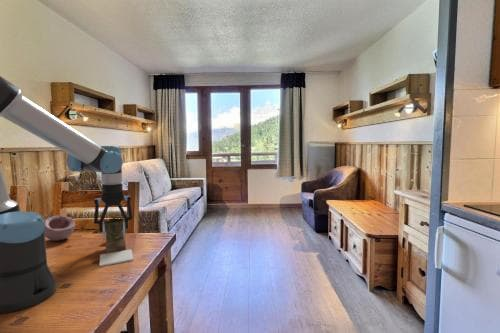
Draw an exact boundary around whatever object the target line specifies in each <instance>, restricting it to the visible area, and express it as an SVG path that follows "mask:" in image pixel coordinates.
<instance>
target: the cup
mask: <svg viewBox="0 0 500 333" xmlns="http://www.w3.org/2000/svg"><path fill="white" fill-rule="evenodd" d="M123 222H124V218H123V217H120V218H119V217H117V218H116V217H113V218H111V217H110V218H109V220H107V219H104V221H103V223H104V224H105V234H106V233H107V234H108V235H110V239H117V238H119V234H120V233H121V232H122V231H123Z"/></svg>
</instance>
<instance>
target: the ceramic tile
mask: <svg viewBox="0 0 500 333" xmlns="http://www.w3.org/2000/svg"><path fill="white" fill-rule="evenodd" d="M132 250H133V249H126V250H122V251H117V252H111V253H102V254H100V255H99V267H105V266H111V265H116V264H121V263H126V262H132V261H134V260H135V259H134V254H133V251H132Z"/></svg>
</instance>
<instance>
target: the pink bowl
mask: <svg viewBox="0 0 500 333" xmlns="http://www.w3.org/2000/svg"><path fill="white" fill-rule="evenodd" d="M43 222H44V225H45V239H46V238H47V239H48V240H51V241H55V242H57V241H63V240H65V239H68V238H69V237H70V236H71V235H72V234H73V233H74V231H75V228H76V223H75V222H76V221H74V219H73V218H71V216H70V217H69V216H67V215H61V214H59V215H58V214H57V215H51V216H50V217H47V218H46V219H45V220H43Z"/></svg>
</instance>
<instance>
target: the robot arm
mask: <svg viewBox="0 0 500 333" xmlns="http://www.w3.org/2000/svg"><path fill="white" fill-rule="evenodd" d="M0 117H2V118H4V119H5V120H7V121H9V122H11V123H12V124H14V125H16V126H18V127H19V128H22V129H23V130H25V131H27V132H29V133H31V134H32V135H34V136H35V137H37V138H39V139H41V140H43V141H45V142H47V143H48V144H50V145H52V146H54V147H56V148H57V149H59V150H60V151H63V152H64V153H66V154H67V156H66V158H65V159H66V161H65V162H66V166H67V168H68V170H69V171H70V172H72V173H73V172H74V173H77V172H80V173H81V172H90V173H91V172H92V173H100V174H101V183H102V185H101V192H102V193H101V196H100V197H97V198H94V200H93V203H94V205H95V207H94V217H93V219H94V220H93V223H94V224H97V225H99V232H100V233H102V240H103V241H106V231H105V224H104V220H105V217H106V215H107V212H108V209H109V207H112V206H113V207H114V206H116V207H117V208H118V210H119V212H120V213H121V216H122V218H124V222H123V230H122V231H123V237H124V238H126V230H127V229H128V228H129V222H130V221H131V220H132V219H133V214H132V207H131V198H132V197H131V195H124V193H123V191H124V190H123V172H122V171H123V170H122V169H123V168H122V167H123V163H124V161H123V155H122V151H121V149H122V148H121V146H119V145H102V146H101V145H99V144H98V143H96V142H95V141H93V140H92V139H90V138H88V137H87V136H86V135H84V134H82V133H81V132H79V131H78V130H76V129H75V128H73V127H71V125H69V124H67V123H66V122H64V121H63V120H61V119H60V118H59V117H56V116H55V115H53V114H51V113H50V112H49V111H47V110H46V109H44V108H43V107H41V106H40V105H38V104H37V103H35V102H34V101H32V100H30V99H29V98H27V97H26V96H24V95H23V93H22V91H21V88H19V87H17V86H16V85H15V84H13V83H11V82H10V81H9V80H7V79H5V78H4V77H3V76H1V75H0ZM123 200H124V201H125V202H126V207H127V213H128V216H127V214H126V211H125V210H124V208H123V206H122V201H123ZM101 201H102V202H103V203H104V207H103V209H102V213H101V216H100V219H98V218H99V207H100V204H101ZM56 290H57V281H56V279H55V277H54V274H53V273H52V270H51V269H50V267H49V266H48V261H47V246H46V237H45V225H44V217H43V216H42V214H40V213H38V212H35V211H25V210H23V211H22V210H21V209H20V206H19V202H17V201H16V200H13V199H11V198H10V195H9V191H8V188H7V185H6V180H5V178H4V174H3V171H2V167H1V165H0V314H6V313H13V312H17V311H21V310H25V309H27V308H30V307H33V306H35V305H37V304H40V303H42V302H44V301H45V300H47V299H48V298H50V297H51V296H52V295H53V294H54V293H55V292H56Z"/></svg>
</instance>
